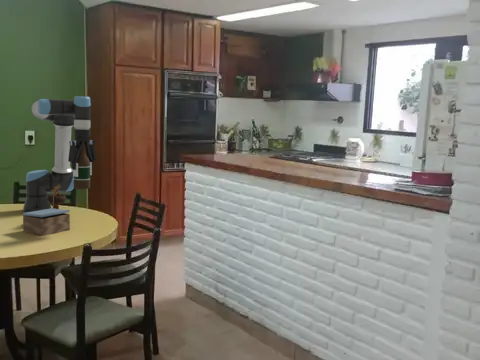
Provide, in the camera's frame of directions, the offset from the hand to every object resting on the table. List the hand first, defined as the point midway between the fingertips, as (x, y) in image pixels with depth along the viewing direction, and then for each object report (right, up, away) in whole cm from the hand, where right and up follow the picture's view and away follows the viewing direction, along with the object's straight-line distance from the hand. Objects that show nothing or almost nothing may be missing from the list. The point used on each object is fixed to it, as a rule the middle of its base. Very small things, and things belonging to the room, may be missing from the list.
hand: (82, 175), depth 244 cm
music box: (-21, -25, +20) cm, 38 cm away
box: (-18, -27, +1) cm, 32 cm away
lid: (-17, -19, 0) cm, 25 cm away
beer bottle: (-1, -6, +1) cm, 6 cm away
